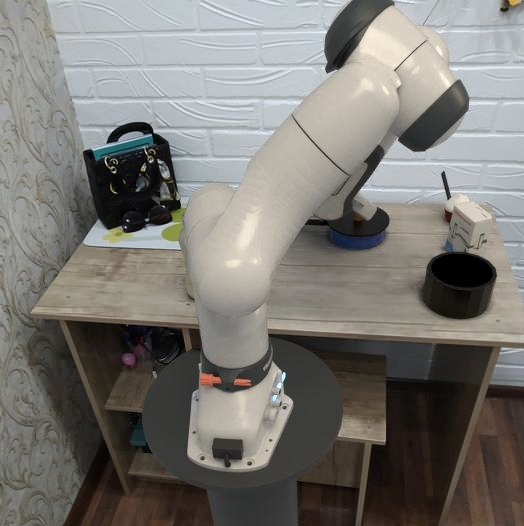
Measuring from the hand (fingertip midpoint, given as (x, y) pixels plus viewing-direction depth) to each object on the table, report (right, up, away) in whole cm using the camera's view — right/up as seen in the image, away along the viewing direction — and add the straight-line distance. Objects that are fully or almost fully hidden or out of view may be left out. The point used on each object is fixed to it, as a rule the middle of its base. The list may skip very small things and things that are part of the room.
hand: (358, 207), depth 138 cm
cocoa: (+26, -1, +8) cm, 27 cm away
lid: (0, -3, +2) cm, 4 cm away
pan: (+1, -6, +5) cm, 8 cm away
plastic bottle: (-37, -22, -10) cm, 44 cm away
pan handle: (-11, -3, +5) cm, 12 cm away
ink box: (+24, -12, -4) cm, 27 cm away
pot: (+18, -23, -16) cm, 34 cm away
